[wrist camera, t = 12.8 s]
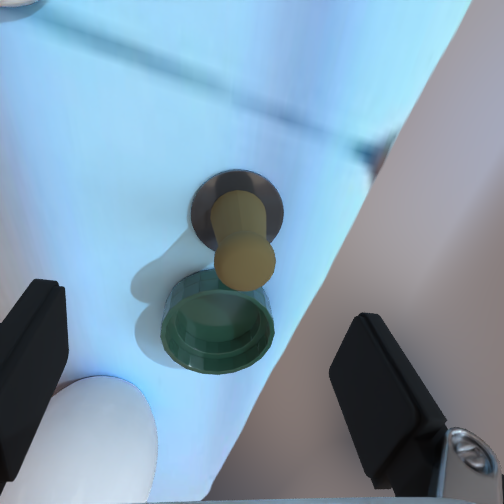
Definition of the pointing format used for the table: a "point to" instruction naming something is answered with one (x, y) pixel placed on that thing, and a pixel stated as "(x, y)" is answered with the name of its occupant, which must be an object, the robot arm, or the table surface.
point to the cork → (241, 241)
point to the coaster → (229, 183)
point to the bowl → (216, 325)
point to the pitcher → (90, 448)
